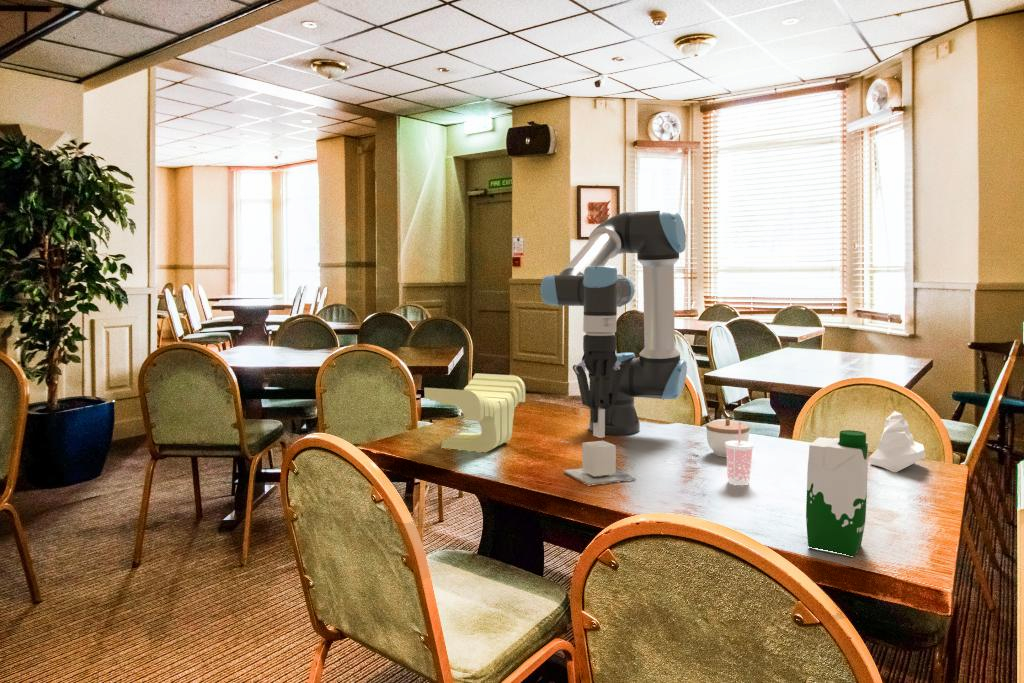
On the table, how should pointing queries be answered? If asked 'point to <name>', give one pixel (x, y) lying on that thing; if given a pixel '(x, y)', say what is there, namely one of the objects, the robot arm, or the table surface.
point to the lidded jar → (724, 435)
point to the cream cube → (599, 458)
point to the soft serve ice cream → (897, 445)
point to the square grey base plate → (598, 477)
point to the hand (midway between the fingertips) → (598, 436)
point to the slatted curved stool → (483, 409)
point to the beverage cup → (739, 460)
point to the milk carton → (837, 492)
